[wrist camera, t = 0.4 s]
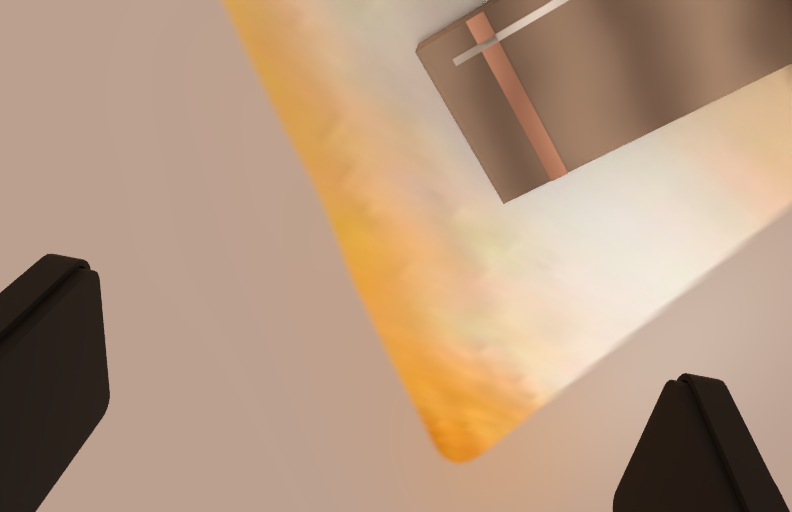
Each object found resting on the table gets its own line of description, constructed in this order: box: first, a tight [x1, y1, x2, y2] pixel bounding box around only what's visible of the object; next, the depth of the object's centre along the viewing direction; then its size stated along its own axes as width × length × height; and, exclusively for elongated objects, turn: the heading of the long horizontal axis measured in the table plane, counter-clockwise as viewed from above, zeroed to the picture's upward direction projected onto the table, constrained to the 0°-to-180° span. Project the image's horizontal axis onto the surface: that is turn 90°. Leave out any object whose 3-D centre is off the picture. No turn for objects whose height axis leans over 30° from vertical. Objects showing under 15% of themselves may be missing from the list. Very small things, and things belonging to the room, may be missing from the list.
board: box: [416, 0, 792, 204], centre depth 34 cm, size 21×10×2 cm, turn 122°
